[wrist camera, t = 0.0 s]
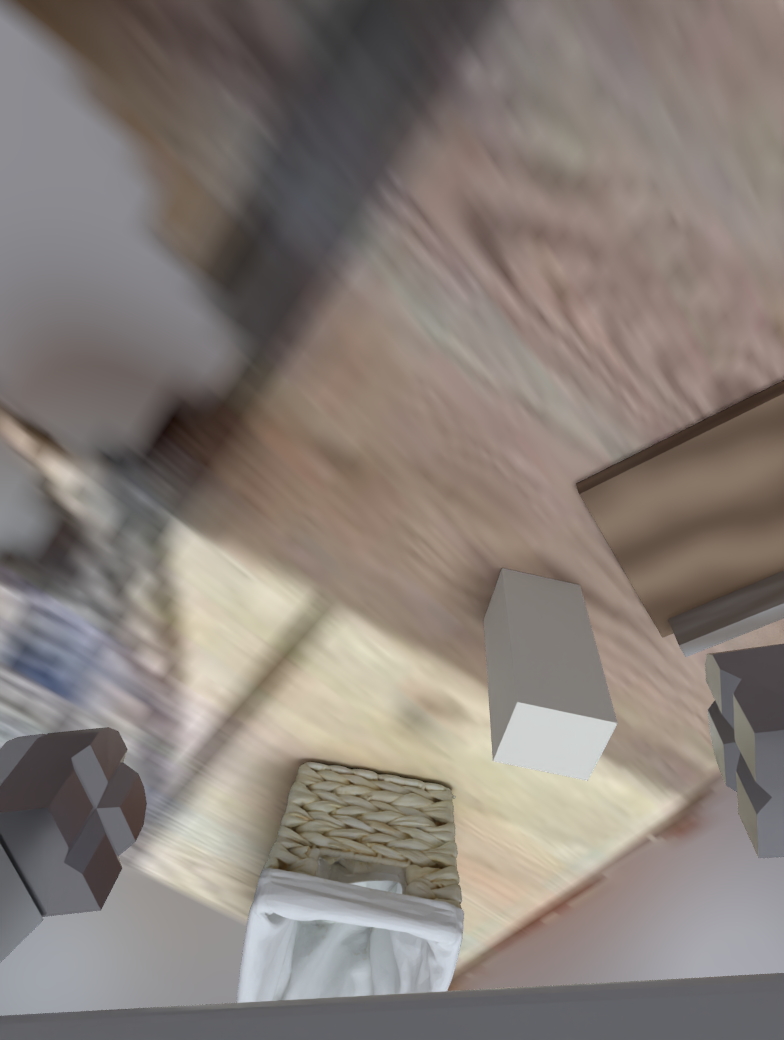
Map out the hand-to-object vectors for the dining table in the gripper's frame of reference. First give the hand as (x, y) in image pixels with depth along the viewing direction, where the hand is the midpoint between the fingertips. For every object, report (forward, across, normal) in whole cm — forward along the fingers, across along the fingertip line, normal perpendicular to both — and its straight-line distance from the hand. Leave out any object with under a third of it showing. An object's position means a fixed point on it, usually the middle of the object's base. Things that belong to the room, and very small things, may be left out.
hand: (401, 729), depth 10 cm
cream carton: (+41, -2, +23) cm, 47 cm away
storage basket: (+44, +18, +48) cm, 68 cm away
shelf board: (+41, -20, +16) cm, 48 cm away
